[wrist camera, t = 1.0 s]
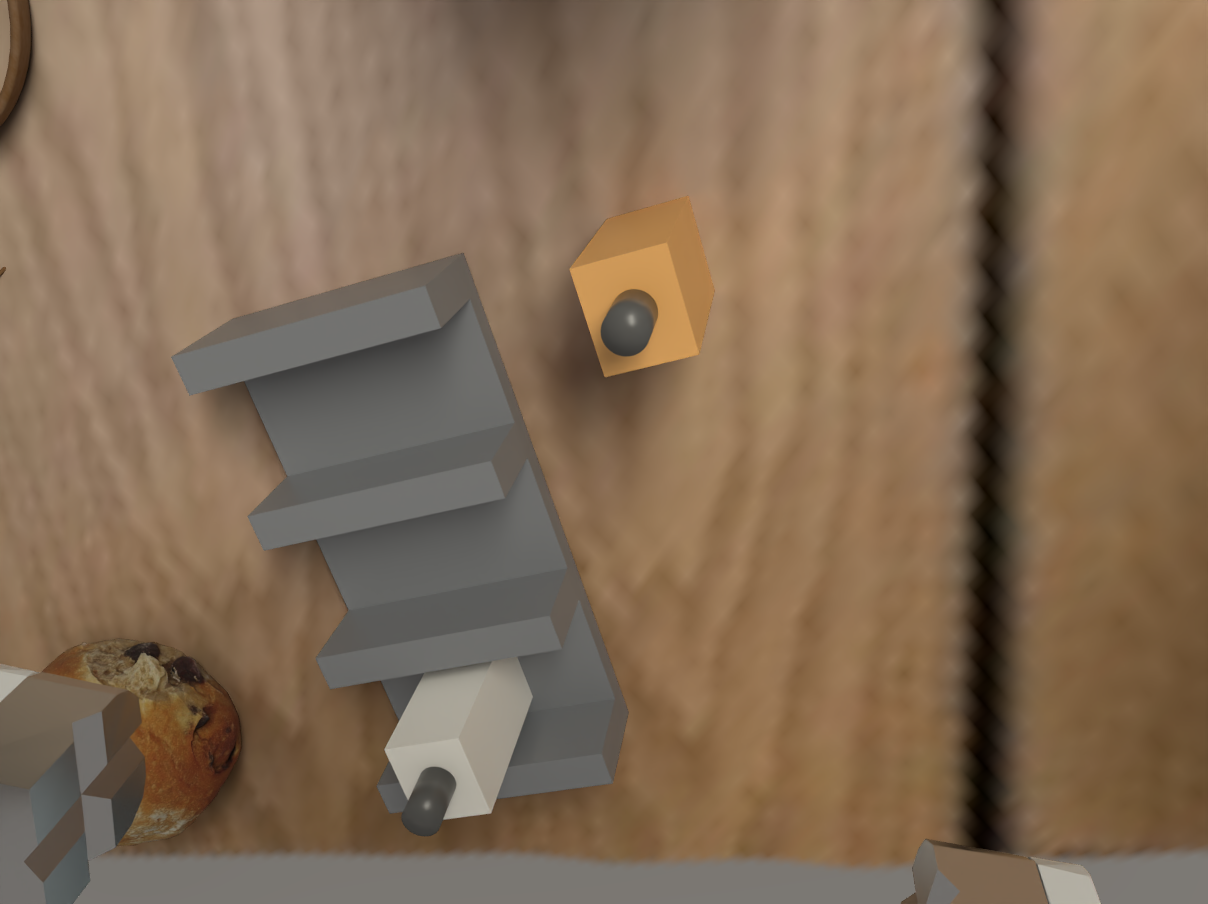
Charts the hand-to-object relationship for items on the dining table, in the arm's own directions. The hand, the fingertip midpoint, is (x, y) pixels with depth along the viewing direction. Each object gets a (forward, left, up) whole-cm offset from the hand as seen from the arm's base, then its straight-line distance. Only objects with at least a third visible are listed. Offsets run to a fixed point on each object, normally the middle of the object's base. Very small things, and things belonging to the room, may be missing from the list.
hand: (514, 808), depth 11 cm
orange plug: (+2, +1, -29) cm, 29 cm away
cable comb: (+14, +9, -29) cm, 33 cm away
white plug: (+14, +16, -28) cm, 35 cm away
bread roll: (+32, +16, -29) cm, 46 cm away
